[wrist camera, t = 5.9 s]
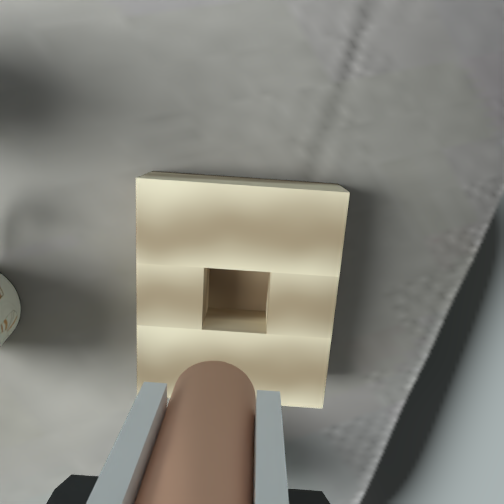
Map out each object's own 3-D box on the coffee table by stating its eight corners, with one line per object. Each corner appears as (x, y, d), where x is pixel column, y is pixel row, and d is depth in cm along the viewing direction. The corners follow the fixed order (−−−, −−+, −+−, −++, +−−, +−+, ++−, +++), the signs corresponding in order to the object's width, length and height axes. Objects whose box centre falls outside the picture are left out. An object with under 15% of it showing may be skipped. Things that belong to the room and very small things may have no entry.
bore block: (152, 171, 28) (135, 177, 25) (337, 183, 28) (349, 192, 25) (151, 364, 32) (137, 396, 28) (314, 375, 32) (322, 408, 28)
